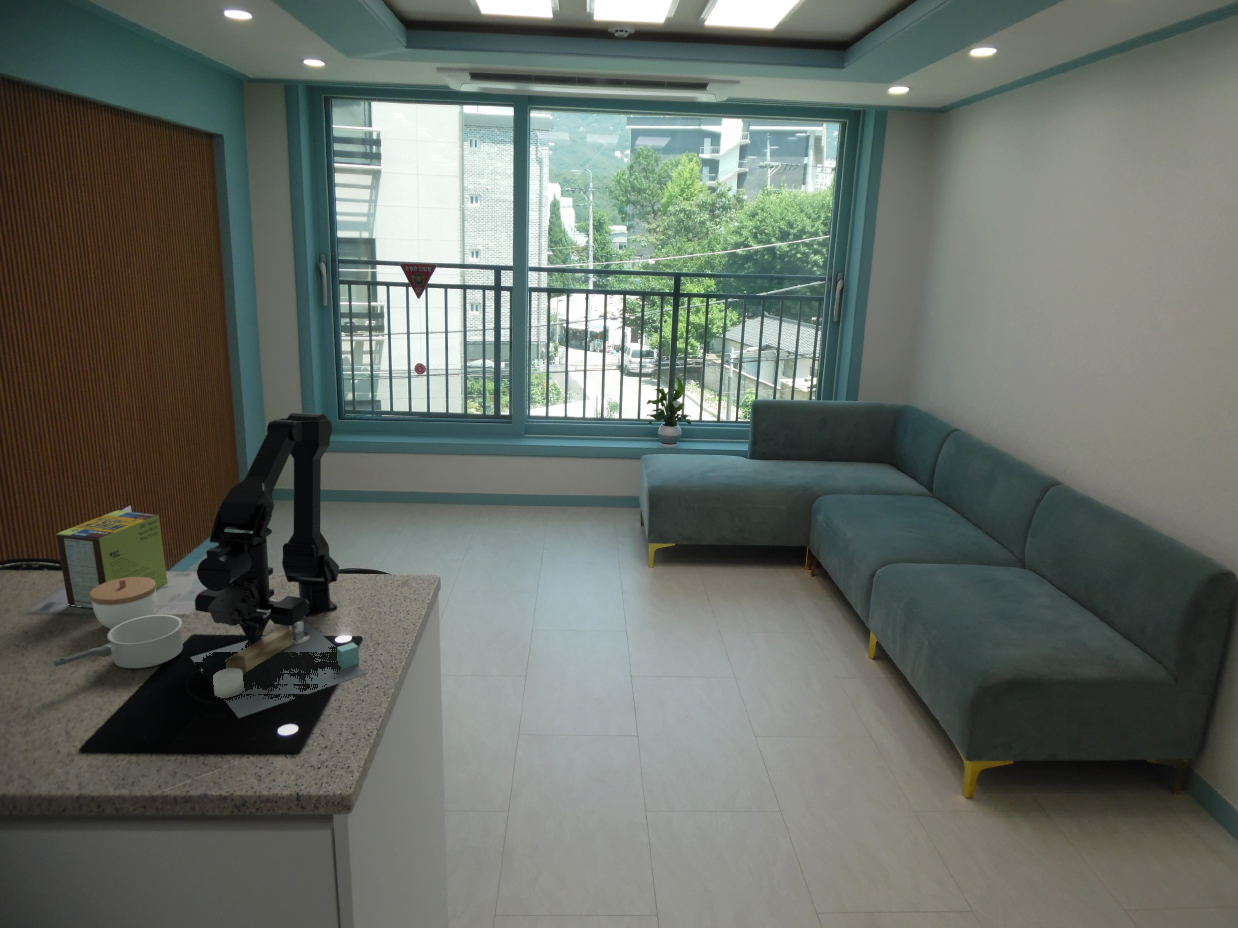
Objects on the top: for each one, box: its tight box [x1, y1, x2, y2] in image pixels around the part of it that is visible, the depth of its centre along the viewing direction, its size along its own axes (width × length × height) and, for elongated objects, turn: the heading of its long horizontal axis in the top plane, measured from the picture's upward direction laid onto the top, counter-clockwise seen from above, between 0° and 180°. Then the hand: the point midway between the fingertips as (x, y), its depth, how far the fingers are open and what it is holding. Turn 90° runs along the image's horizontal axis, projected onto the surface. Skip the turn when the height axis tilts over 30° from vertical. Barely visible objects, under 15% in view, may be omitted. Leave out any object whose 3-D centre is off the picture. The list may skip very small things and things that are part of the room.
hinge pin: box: [288, 619, 310, 644], centre depth 151 cm, size 4×4×4 cm
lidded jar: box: [90, 577, 158, 631], centre depth 154 cm, size 11×11×9 cm
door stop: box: [212, 668, 244, 699], centre depth 133 cm, size 4×4×3 cm
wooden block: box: [225, 626, 292, 675], centre depth 143 cm, size 13×2×3 cm, turn 159°
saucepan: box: [53, 614, 184, 669], centre depth 140 cm, size 12×20×6 cm, turn 147°
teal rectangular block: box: [336, 641, 360, 669], centre depth 142 cm, size 2×3×4 cm, turn 132°
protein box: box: [55, 509, 168, 610], centre depth 167 cm, size 10×15×16 cm
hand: (255, 648), depth 144 cm, fingers closed
